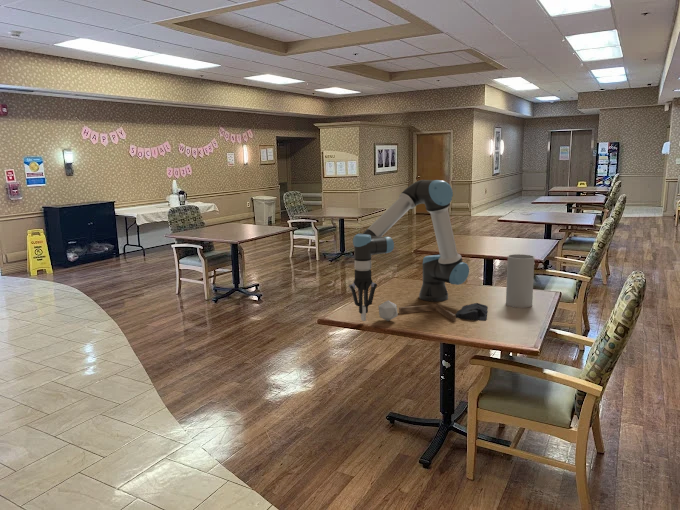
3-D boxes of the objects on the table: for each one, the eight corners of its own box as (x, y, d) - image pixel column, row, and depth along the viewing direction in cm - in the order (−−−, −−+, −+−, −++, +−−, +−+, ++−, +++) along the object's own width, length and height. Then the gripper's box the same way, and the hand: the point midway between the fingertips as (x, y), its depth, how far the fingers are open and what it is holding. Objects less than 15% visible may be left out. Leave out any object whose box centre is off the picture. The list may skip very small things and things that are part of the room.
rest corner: (437, 309, 255) (437, 304, 255) (455, 321, 236) (455, 315, 236) (398, 313, 251) (398, 307, 250) (414, 325, 232) (414, 319, 231)
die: (396, 324, 234) (396, 302, 232) (377, 323, 236) (377, 302, 234) (398, 318, 242) (398, 298, 241) (379, 318, 244) (379, 297, 242)
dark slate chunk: (492, 310, 254) (492, 301, 254) (485, 323, 235) (485, 313, 234) (460, 307, 261) (461, 298, 260) (451, 319, 241) (451, 309, 240)
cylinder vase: (513, 309, 254) (515, 259, 249) (501, 303, 266) (503, 254, 261) (537, 308, 255) (539, 258, 251) (524, 301, 268) (526, 253, 263)
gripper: (374, 266, 237) (374, 316, 241) (346, 268, 234) (347, 319, 238) (379, 269, 230) (379, 321, 234) (351, 271, 227) (351, 323, 231)
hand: (363, 320), depth 236 cm, fingers closed
